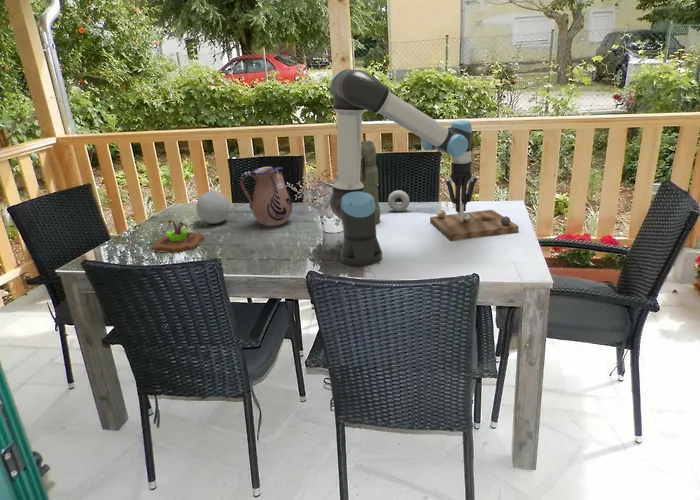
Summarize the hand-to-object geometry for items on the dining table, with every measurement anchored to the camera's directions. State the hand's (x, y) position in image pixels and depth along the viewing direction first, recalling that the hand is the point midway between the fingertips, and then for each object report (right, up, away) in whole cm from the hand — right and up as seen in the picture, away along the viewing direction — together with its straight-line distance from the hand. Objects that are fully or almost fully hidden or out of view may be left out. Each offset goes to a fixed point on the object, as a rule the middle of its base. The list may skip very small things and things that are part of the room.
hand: (460, 219), depth 211 cm
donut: (-22, +5, +29) cm, 37 cm away
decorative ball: (-107, 0, +31) cm, 112 cm away
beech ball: (-6, +3, +7) cm, 10 cm away
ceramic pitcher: (-81, -1, +24) cm, 84 cm away
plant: (-116, -11, +6) cm, 117 cm away
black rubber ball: (+16, -1, -6) cm, 18 cm away
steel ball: (+2, +1, 0) cm, 2 cm away
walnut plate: (+5, -3, +2) cm, 6 cm away
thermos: (-36, 0, +17) cm, 40 cm away
